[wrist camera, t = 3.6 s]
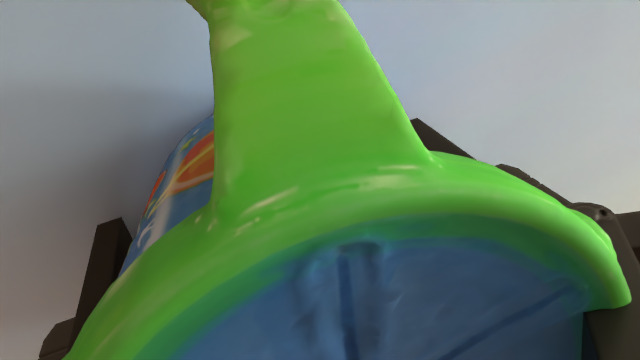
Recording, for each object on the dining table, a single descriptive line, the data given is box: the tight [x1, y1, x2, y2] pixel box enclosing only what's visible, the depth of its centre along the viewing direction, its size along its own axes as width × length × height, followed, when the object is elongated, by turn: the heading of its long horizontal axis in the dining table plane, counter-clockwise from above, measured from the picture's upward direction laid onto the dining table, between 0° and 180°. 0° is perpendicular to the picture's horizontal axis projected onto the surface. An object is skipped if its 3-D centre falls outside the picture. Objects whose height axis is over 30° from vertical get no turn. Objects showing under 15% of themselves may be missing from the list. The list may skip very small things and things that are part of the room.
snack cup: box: [62, 0, 632, 360], centre depth 13 cm, size 16×10×10 cm
